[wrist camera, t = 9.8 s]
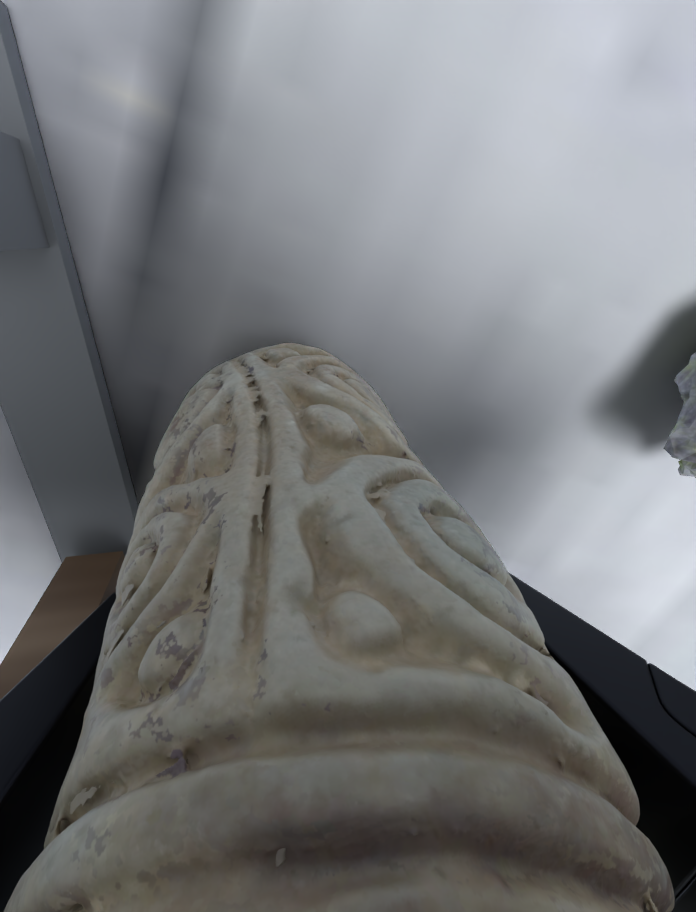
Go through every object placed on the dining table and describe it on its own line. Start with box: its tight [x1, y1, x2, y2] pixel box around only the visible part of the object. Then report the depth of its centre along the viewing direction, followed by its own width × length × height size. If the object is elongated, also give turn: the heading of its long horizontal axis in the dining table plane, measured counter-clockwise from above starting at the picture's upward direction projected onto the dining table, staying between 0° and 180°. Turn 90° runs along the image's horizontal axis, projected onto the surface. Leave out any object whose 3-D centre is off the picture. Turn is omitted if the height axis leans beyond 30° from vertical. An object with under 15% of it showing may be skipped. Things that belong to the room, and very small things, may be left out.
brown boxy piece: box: [0, 551, 125, 700], centre depth 14 cm, size 12×7×5 cm, turn 0°
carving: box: [4, 343, 675, 912], centre depth 8 cm, size 6×8×12 cm
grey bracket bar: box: [0, 0, 138, 563], centre depth 12 cm, size 30×2×6 cm, turn 0°
